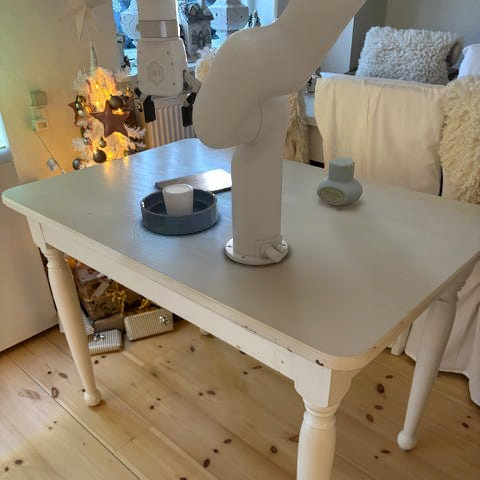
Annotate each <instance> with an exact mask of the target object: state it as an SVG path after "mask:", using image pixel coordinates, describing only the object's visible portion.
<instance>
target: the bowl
mask: <svg viewBox="0 0 480 480" xmlns="http://www.w3.org/2000/svg"><path fill="white" fill-rule="evenodd" d="M139 203H140V205H139V206H140V212H141V221H142V224H143V226H144V227H145V228H146V229H147V230H149V231H152V232H155V233H157V234H164V235H187V234H195V233H198V232H202V231H204V230H206V229H208V228H211V227H212V226H214V225H215V223H217V222H218V218H219V206H218V198H217V196H216V195H215V194H212V193H211V192H209V191H205V190H202V189H196V188H193V213H192V214H186V215H167V211H166V206H165V201H164V196H163V192H162V190H158V191H155V192H152V193H150V194H147V195H146V196H145V197H143V198H142V199H141V200H140V202H139Z"/></svg>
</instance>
